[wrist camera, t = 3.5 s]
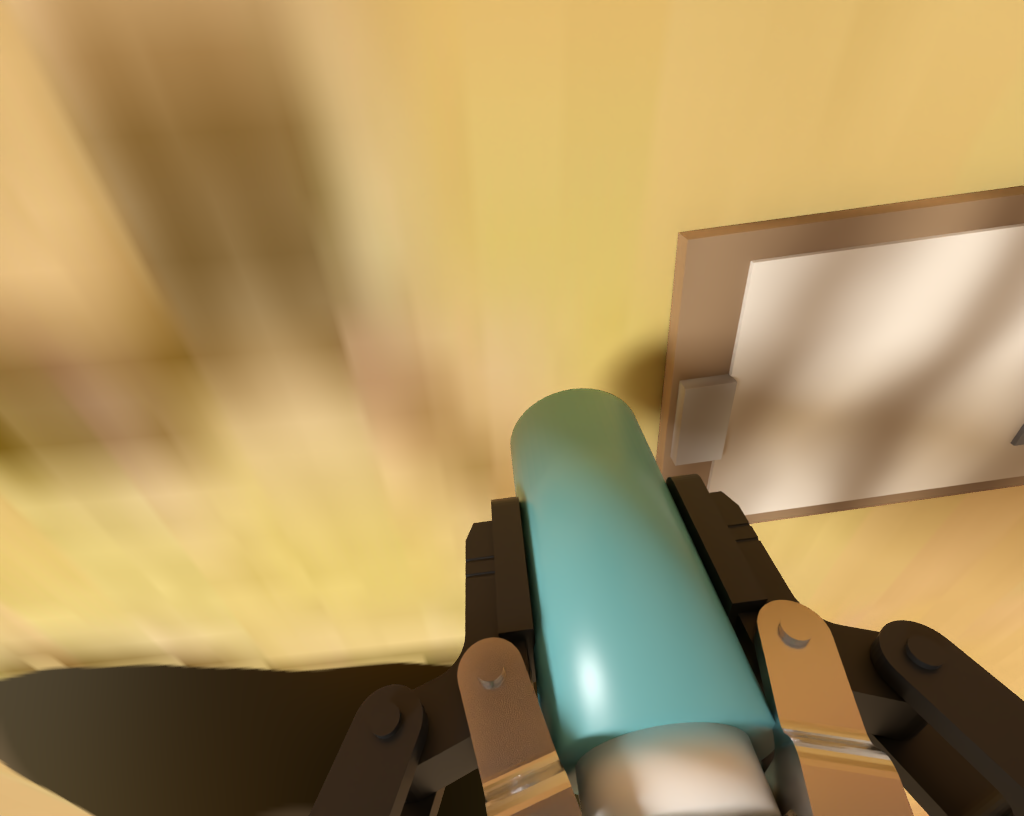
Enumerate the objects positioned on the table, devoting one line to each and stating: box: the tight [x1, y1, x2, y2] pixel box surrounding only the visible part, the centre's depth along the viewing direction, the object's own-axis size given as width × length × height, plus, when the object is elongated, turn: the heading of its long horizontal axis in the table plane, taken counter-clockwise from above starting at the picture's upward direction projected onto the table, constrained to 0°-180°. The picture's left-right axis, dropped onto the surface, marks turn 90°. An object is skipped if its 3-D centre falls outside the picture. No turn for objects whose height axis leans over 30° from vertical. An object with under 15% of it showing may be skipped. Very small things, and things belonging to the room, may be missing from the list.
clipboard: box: [656, 186, 1024, 524], centre depth 20 cm, size 20×15×1 cm
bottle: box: [511, 388, 781, 816], centre depth 11 cm, size 4×4×10 cm
